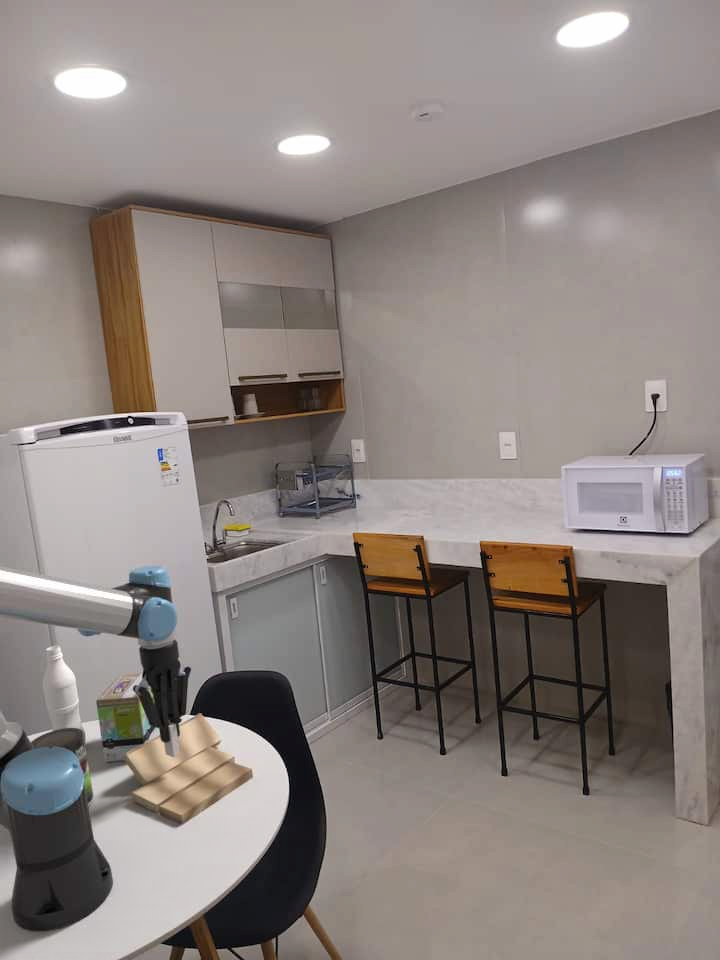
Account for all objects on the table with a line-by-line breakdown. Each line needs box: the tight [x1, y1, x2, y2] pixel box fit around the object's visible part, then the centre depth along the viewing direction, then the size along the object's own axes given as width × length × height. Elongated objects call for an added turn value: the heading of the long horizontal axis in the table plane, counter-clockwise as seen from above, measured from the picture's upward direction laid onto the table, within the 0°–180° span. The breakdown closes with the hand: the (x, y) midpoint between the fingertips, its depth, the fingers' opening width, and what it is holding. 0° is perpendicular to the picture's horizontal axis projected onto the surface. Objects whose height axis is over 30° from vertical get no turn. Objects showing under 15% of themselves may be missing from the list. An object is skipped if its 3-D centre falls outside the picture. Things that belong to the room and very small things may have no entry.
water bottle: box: [41, 645, 87, 744], centre depth 171 cm, size 7×7×25 cm
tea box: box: [95, 672, 160, 763], centre depth 170 cm, size 15×10×15 cm
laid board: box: [158, 761, 254, 825], centre depth 145 cm, size 18×7×2 cm, turn 142°
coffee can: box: [30, 728, 95, 807], centre depth 147 cm, size 10×10×14 cm
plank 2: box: [131, 746, 236, 814], centre depth 151 cm, size 20×8×2 cm, turn 142°
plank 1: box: [123, 712, 222, 786], centre depth 159 cm, size 20×8×2 cm
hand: (172, 754), depth 151 cm, fingers closed
